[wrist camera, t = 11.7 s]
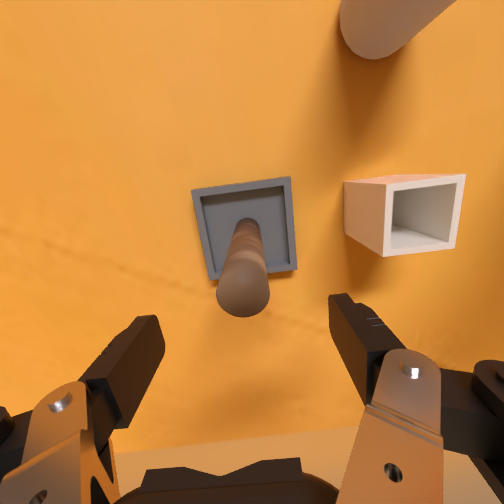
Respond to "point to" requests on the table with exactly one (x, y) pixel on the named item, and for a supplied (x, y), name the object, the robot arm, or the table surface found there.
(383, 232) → the cup
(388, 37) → the can
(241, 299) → the dowel
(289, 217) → the tray
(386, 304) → the table surface
